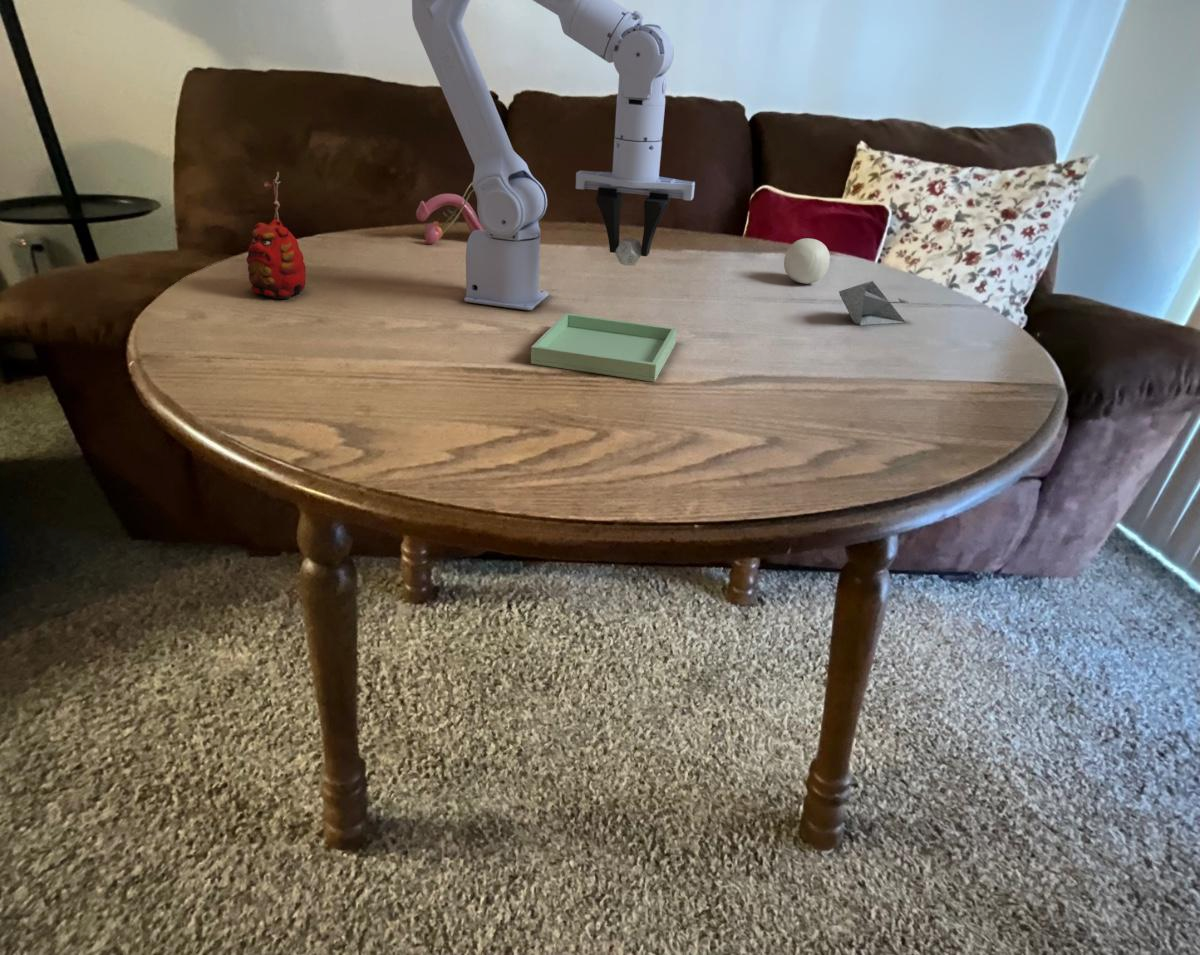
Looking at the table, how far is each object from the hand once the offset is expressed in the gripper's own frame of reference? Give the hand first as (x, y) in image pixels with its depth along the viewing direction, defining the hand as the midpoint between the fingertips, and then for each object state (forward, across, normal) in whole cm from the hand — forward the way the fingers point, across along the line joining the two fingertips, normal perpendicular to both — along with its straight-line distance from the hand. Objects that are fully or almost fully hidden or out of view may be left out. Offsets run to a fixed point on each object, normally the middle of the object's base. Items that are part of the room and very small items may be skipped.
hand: (629, 252), depth 108 cm
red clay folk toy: (+9, +45, +9) cm, 47 cm away
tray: (+8, -1, +14) cm, 17 cm away
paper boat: (+9, -32, -10) cm, 34 cm away
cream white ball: (+9, -22, -28) cm, 37 cm away
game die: (+2, 0, 0) cm, 2 cm away
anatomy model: (+9, +34, -29) cm, 45 cm away
